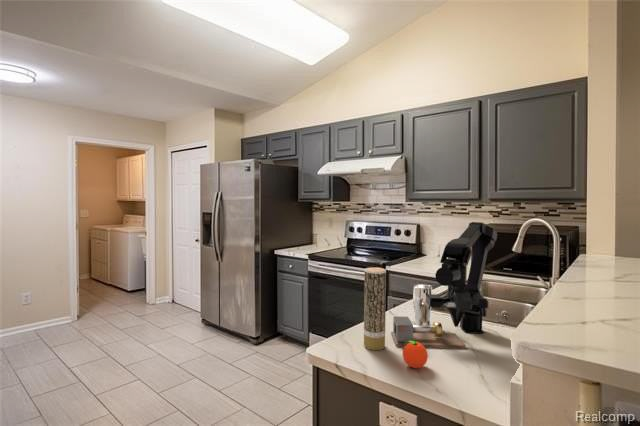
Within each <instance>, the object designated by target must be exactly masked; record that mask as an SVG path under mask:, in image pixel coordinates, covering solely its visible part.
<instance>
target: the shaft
mask: <svg viewBox="0 0 640 426" xmlns="http://www.w3.org/2000/svg"><path fill="white" fill-rule="evenodd" d="M413 333H433V335H434V337H442V334H443V333H444V332H443V325H442V323H441V322H433V323H432V325H431V326H416V325H414V324H413Z"/></svg>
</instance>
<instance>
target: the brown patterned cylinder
mask: <svg viewBox="0 0 640 426" xmlns="http://www.w3.org/2000/svg"><path fill="white" fill-rule="evenodd" d="M363 281H364V283H363V284H364V285H363V286H364V287H363V290H364V293H363V296H364V297H363V302H364V303H363V346H364V347H365V348H366V349H369V350H371V351H380V350H383V349H384V348H385V347H386V346H385V345H386V307H387V306H386V305H387V296H386V295H387V269H385V268H383V267H366V268H364V280H363Z"/></svg>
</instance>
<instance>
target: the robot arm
mask: <svg viewBox="0 0 640 426" xmlns="http://www.w3.org/2000/svg"><path fill="white" fill-rule="evenodd" d="M497 238H498V232H497V231H496V230H495V228H493V227H491V226H489V225H487V224H486V223H485V222H482V221H481V222H480V221H479V222H477V221H472V222H469V223H468V226H467V228H466V229H465V230H464V231H463V232H462V233H461V234H460V235H459V237H458V238H453V239H451V240H449V241H448V242H447V244H445V247H444V249H443V252H442V254H441V255H442V256H441V258H440V262H439V263H441V267H440V268H438V269H437V270H436V272H435V279H436V282H437V283H438V284H439V285H441V286H445V287H447V292H446V297H441V296H440V294H438V293H437V294H436V293H435V294H428V295H427V296H426V302H427V304H428V305H429V306H430V307H431V308H441V307H445V308H446V310H448V312H449V315H450V317H451V320H452V323H453V326H454V327H455V328H458V327H460V328H461V329H462V330H463V332H465V333H467V334H472V333H473V334H477V333H478V334H484V333H485V332H484V330H483V317H485V318H486V317H487V313H488V312H487V311H488V308H489V304H490V303H489V300H488V299H487V298H486V297H484V294H483V292H482V290H481V288H482V282H483V277H484V271H485V266H486V263H487V258H488V257H487V256H488V252H490V251H491V249H493V248H494V246H495V243H496V242H497ZM472 247H474V248H473V249H474V250H473V251H472ZM471 256H472V257H471ZM470 260H471V263H470V267H469V272H468V270H467V269H468V268H467V267H468V264H469V262H470ZM467 272H468V276H467Z"/></svg>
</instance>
